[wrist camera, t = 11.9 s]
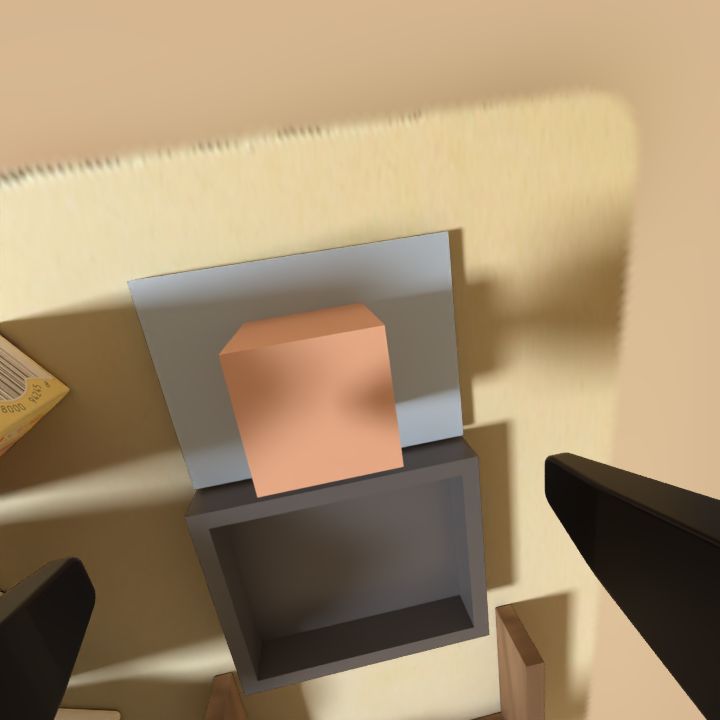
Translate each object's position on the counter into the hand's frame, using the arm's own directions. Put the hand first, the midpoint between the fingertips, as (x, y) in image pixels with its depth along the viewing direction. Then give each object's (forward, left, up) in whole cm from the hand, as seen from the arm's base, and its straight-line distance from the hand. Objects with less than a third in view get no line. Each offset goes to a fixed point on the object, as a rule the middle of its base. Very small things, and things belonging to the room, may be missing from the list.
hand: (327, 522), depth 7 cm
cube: (0, 0, -10) cm, 10 cm away
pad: (0, 0, -11) cm, 11 cm away
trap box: (0, -11, -11) cm, 15 cm away
